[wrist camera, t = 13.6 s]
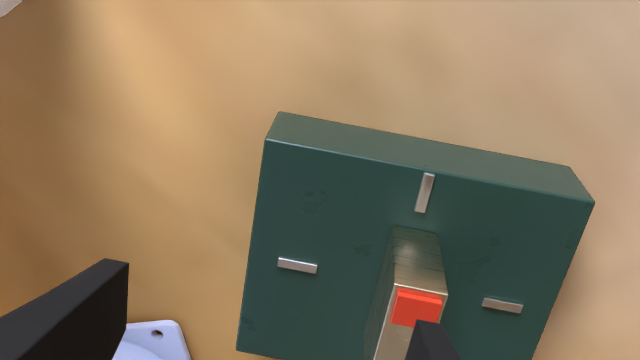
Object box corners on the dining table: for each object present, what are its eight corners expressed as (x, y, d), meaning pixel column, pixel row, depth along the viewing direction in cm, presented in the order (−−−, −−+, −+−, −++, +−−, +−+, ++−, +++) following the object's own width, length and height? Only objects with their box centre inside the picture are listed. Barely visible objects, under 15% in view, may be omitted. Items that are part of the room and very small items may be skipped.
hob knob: (406, 339, 22) (411, 418, 19) (364, 330, 22) (361, 408, 19) (438, 233, 21) (449, 300, 17) (391, 224, 21) (394, 288, 17)
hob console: (250, 305, 26) (233, 354, 23) (278, 110, 22) (263, 139, 20) (499, 353, 26) (514, 409, 23) (570, 166, 22) (598, 203, 19)
